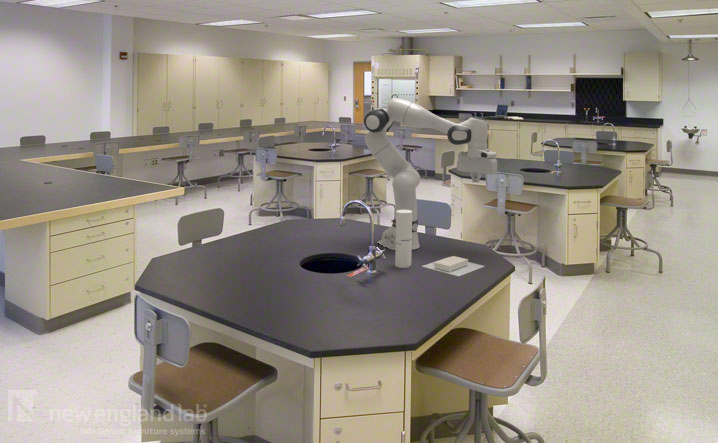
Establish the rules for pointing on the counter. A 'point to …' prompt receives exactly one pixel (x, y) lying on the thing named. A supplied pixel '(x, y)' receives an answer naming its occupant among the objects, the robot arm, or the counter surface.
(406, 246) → the cylindrical container
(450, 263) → the tile
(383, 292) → the counter surface
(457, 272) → the mat
